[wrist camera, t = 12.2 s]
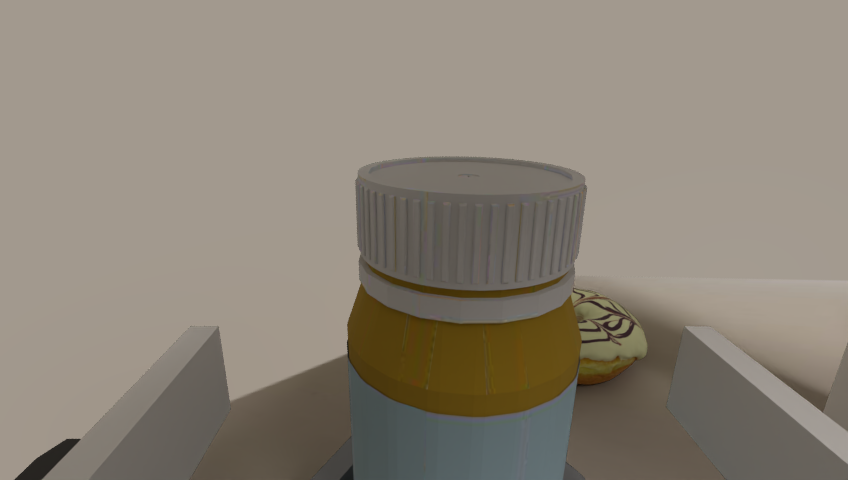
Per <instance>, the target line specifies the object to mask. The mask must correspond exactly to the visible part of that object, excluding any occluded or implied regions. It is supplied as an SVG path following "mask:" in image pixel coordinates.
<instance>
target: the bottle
mask: <svg viewBox="0 0 848 480" xmlns="http://www.w3.org/2000/svg"><path fill="white" fill-rule="evenodd" d="M586 192H587V188H586V185H585V177H584V176H583V175H582V174H580V173H578V172H576V171H574V170H571V169H568V168H564V167H559V166H555V165H550V164H545V163H538V162H531V161H523V160H514V159H501V158H486V157H419V158H405V159H395V160H388V161H382V162H377V163H372V164H369V165H366V166H364V167H362V168H360V169H359V170H358V178H357V179H356V210H357V236H358V247H359V250H360V251H361V255H360V258H359V277H360V278H359V279H360V281H361V285H360V288H359V291H358V294H357V297H356V300H355V303H354V306H353V309H352V312H351V314H350V317H349V321H348V324H347V326H348V341H347V350H348V371H349V392H350V413H351V434H352V455H353V476H354V480H563V476H564V469H565V462H566V455H567V448H568V441H569V434H570V427H571V421H572V414H573V407H574V400H575V393H576V386H577V379H578V372H579V365H580V350H581V343H582V339H581V334H580V330H579V326H578V322H577V318H576V314H575V310H574V306H573V302H572V298H571V294H572V292H573V285H574V277H575V268H574V262H575V259H576V258H577V256H578V253H579V244H580V237H581V230H582V222H583V214H584V207H585V199H586Z"/></svg>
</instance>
